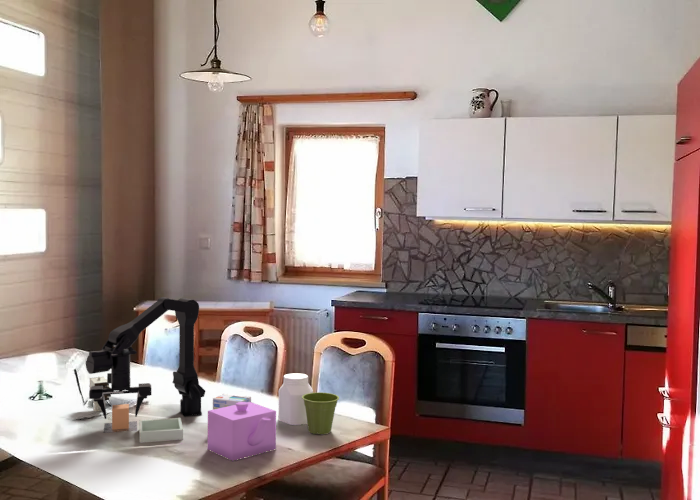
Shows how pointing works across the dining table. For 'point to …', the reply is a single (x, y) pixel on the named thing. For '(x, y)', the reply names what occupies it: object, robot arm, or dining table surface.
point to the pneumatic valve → (103, 382)
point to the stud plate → (109, 429)
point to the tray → (160, 430)
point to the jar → (293, 399)
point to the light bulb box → (228, 400)
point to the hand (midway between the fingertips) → (120, 417)
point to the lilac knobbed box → (241, 430)
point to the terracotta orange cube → (120, 416)
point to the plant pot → (320, 411)
